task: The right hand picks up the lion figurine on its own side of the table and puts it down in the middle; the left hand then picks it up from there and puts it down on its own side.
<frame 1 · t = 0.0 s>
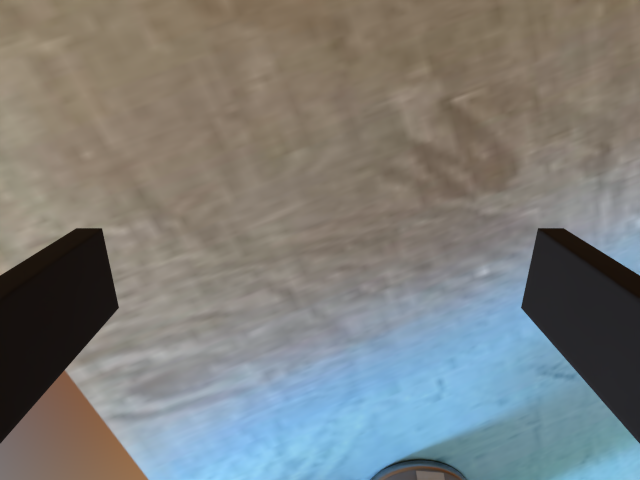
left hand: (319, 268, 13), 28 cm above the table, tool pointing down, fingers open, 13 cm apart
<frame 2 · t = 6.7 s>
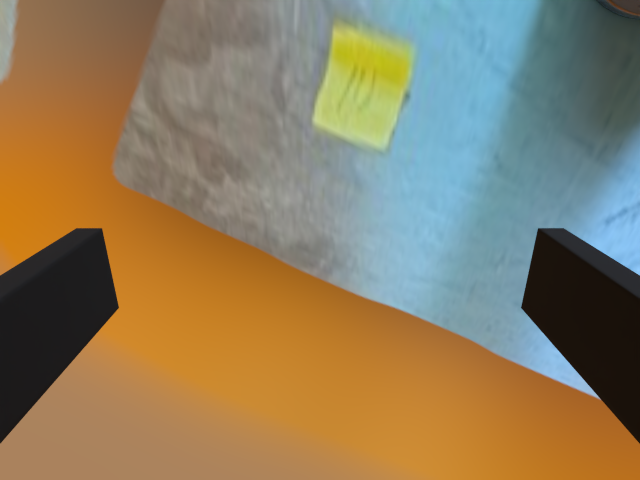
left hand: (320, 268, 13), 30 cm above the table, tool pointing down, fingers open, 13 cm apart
when the right hand's fingers open (2 cm above the table, at t = 13.3 s): lion figurine drops 1 cm, on the table.
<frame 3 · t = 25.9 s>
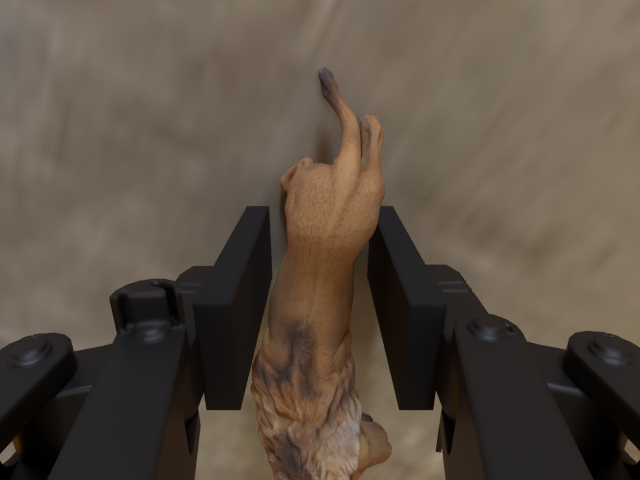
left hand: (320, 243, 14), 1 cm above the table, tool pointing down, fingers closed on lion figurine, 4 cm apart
lion figurine: (322, 236, 15), on the table, touching left hand
when the left hand's fingers open (2 cm above the table, at t = 31.4 s): lion figurine drops 1 cm, on the table.
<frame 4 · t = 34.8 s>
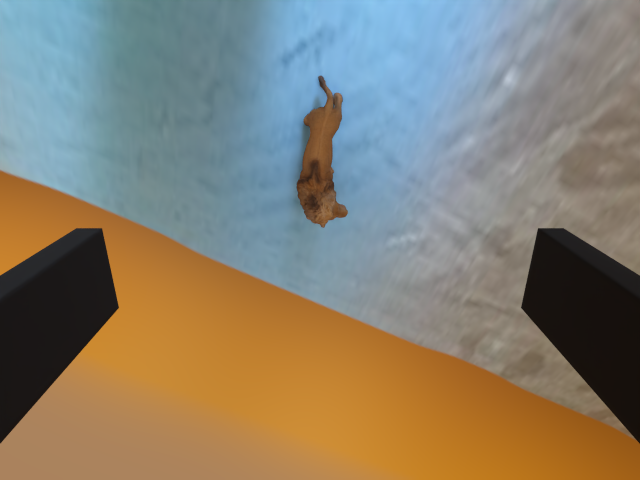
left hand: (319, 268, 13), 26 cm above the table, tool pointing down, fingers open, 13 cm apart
lion figurine: (320, 144, 37), on the table
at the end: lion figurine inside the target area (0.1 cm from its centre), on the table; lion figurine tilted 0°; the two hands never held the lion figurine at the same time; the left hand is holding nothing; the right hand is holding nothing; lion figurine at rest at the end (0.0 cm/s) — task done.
